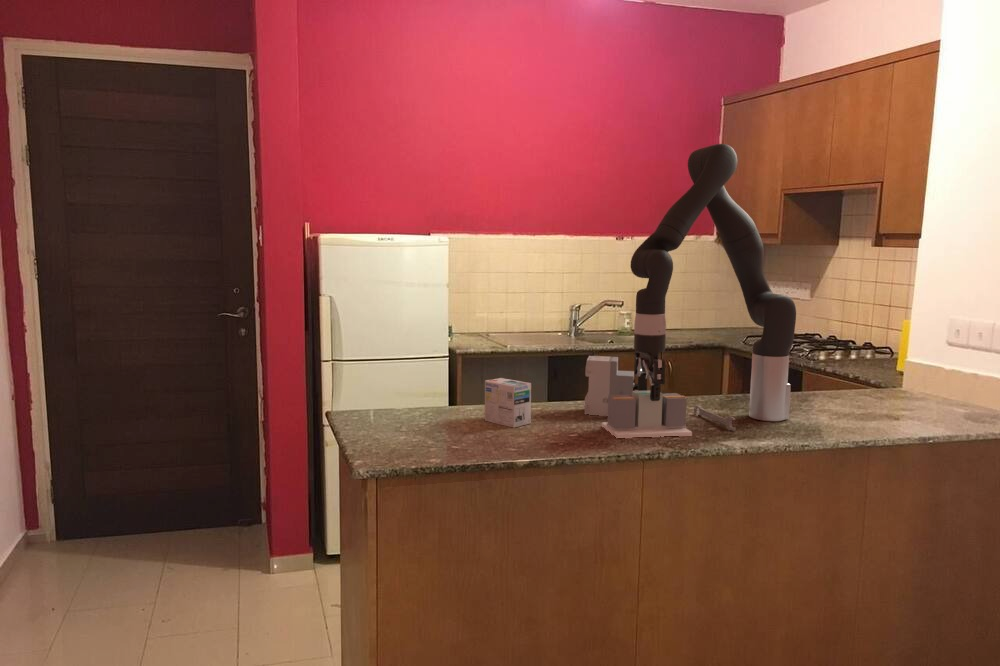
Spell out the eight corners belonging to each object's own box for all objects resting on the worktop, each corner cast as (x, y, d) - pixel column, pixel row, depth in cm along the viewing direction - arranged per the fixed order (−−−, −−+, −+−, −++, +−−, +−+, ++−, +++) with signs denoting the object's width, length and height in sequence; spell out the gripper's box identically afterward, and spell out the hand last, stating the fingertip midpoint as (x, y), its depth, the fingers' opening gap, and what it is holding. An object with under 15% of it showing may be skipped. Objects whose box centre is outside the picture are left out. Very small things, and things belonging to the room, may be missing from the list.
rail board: (672, 423, 197) (673, 389, 196) (691, 436, 185) (693, 400, 184) (601, 426, 194) (602, 391, 192) (616, 438, 182) (618, 402, 181)
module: (653, 421, 192) (655, 389, 191) (661, 426, 187) (662, 393, 186) (631, 422, 191) (632, 390, 190) (637, 427, 186) (639, 394, 185)
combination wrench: (693, 403, 208) (732, 418, 188) (698, 402, 208) (737, 418, 189) (693, 416, 208) (731, 433, 189) (697, 416, 209) (736, 433, 189)
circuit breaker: (638, 418, 202) (640, 362, 200) (584, 415, 205) (585, 360, 203) (638, 411, 210) (640, 358, 208) (586, 408, 213) (588, 355, 211)
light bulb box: (531, 424, 195) (532, 382, 194) (514, 428, 190) (514, 386, 189) (501, 416, 203) (501, 376, 201) (483, 421, 198) (483, 380, 196)
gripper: (676, 335, 180) (674, 402, 182) (653, 327, 194) (652, 390, 196) (645, 336, 178) (644, 404, 181) (625, 328, 192) (624, 391, 194)
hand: (648, 396), depth 188 cm, fingers open, 8 cm apart
